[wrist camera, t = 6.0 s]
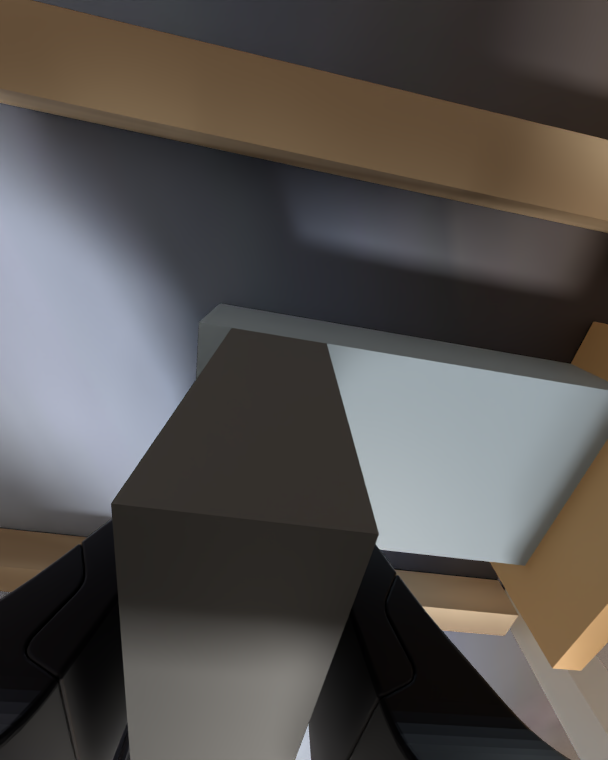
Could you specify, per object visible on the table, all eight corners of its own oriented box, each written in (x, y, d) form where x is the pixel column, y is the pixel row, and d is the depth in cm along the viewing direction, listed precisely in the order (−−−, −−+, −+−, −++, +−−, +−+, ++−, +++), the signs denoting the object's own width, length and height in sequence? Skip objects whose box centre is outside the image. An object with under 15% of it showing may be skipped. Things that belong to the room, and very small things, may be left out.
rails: (486, 600, 16) (504, 636, 15) (-5, 551, 14) (-39, 587, 13) (736, 197, 9) (818, 191, 8) (-164, -14, 7) (-280, -76, 6)
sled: (496, 541, 15) (702, 856, 7) (204, 507, 14) (92, 840, 6) (620, 326, 11) (1346, 535, 3) (223, 252, 10) (-26, 318, 2)
